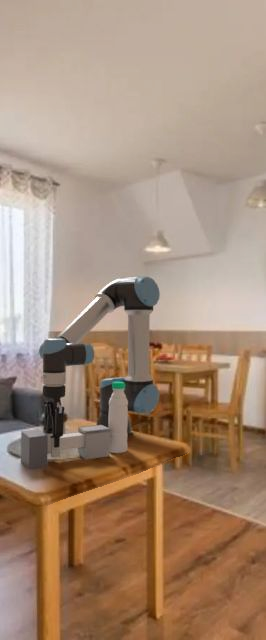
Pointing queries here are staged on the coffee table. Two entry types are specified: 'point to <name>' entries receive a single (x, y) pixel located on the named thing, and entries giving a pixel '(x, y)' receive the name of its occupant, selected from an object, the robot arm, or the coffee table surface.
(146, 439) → the coffee table surface
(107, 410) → the robot arm
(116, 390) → the water bottle
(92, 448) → the sleeve
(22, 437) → the socket fitting
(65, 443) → the tube
